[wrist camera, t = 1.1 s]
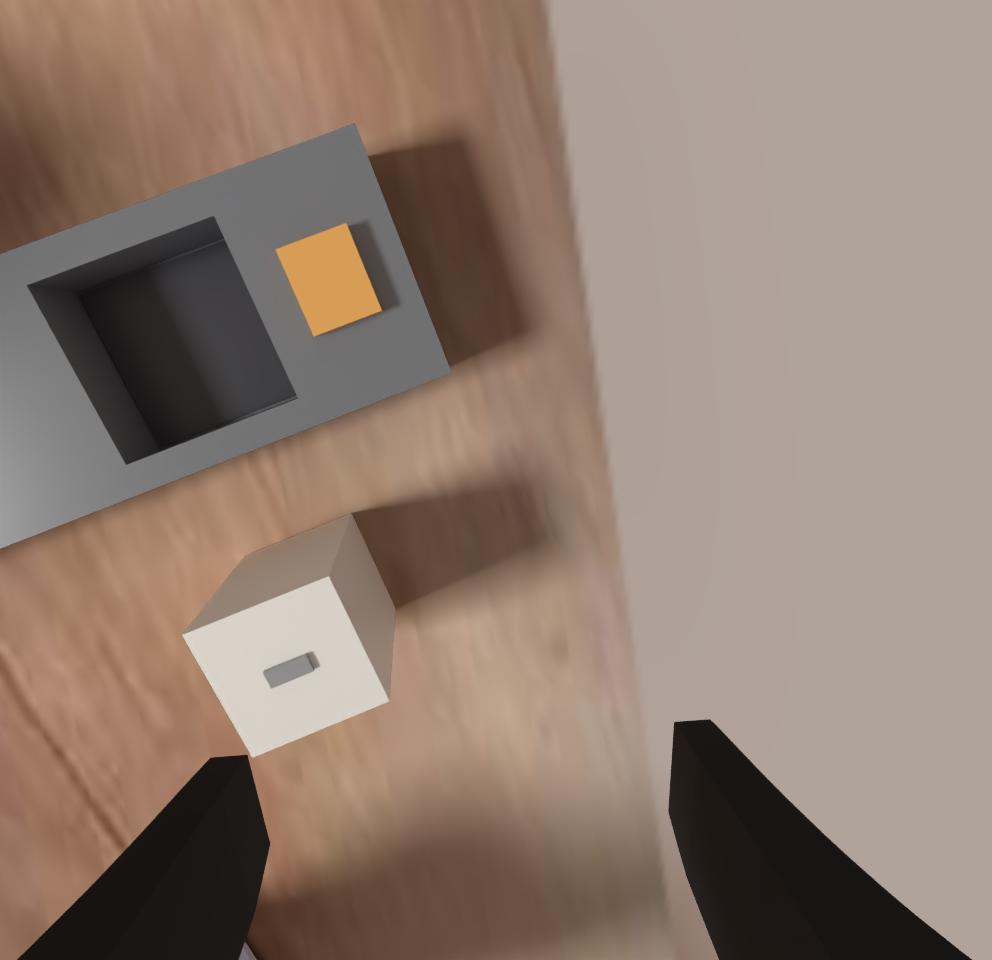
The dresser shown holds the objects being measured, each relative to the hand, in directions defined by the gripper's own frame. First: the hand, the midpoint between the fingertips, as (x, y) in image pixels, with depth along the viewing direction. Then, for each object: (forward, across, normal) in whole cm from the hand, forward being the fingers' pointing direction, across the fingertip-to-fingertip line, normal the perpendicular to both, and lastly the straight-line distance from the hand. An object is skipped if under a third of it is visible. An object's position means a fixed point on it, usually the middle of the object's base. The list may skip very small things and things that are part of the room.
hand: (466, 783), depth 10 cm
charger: (+12, +5, +2) cm, 13 cm away
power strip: (+12, +11, -5) cm, 17 cm away
